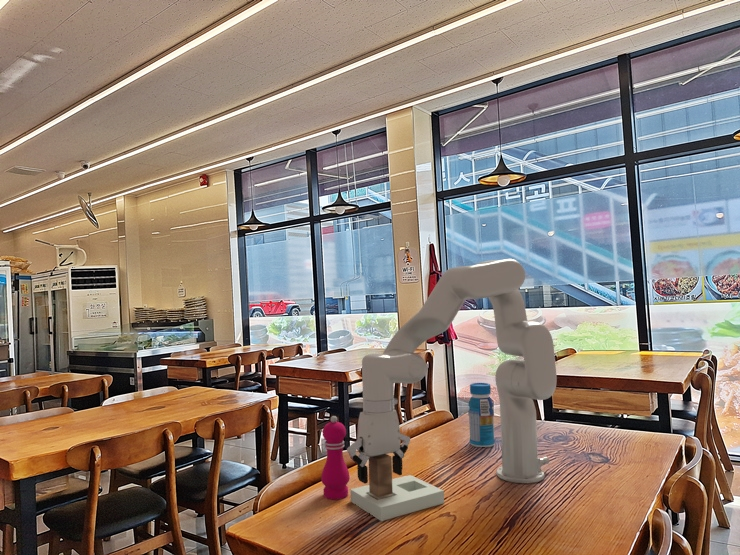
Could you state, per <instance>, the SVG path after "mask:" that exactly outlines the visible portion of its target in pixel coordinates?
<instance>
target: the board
mask: <svg viewBox="0 0 740 555" xmlns="http://www.w3.org/2000/svg"><path fill="white" fill-rule="evenodd" d="M349 490H350V502H351V503H352V504H354V505H355V504H356V505H355V506H357V507H358V506H359V508H360V509H362V510H363V511H365V512H366V513H368V514H369V513H370V515H371V516H372V515H373V516H372V517H375V519H377V520H379V521H380V522H383V521H387V520H390V519H393V518H397V517H400V516H403V515H407V514H411V513H414V512H415V513H416V512H418V511H422V510H425V509H428V508H432V507H435V506H439V505H442V504H445V490H444V489H442V488H439V487H438V486H437V487H436V486H434V485H432V484H431V483H428V482H427V481H425V480H422V479H420V478H418V477H417V476H416V477H415V476H413V475H411V474H409V475H404V476H403V475H402V476H400V477H395V478H392V492H393V496H391V497H387V498H383V499H379V500H376V499H375V498H373V497H371V496H370V494H369V484H368V485H363V486H362V485H361V486H358V487H354V488H350V489H349Z"/></svg>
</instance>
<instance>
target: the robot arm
mask: <svg viewBox="0 0 740 555" xmlns="http://www.w3.org/2000/svg"><path fill="white" fill-rule="evenodd" d="M525 280H526V271H525V267H524V266H523V265H522V264H521V263H520V261H517V260H516V259H512V258H506V259H505V258H504V259H497V260H495V259H494V260H486V261H485V260H484V261H482V262H481V261H480V262H477V263H476V264H474V265H465V266H455V267H451V268H449V269H447V270H445V272H443V274H442V275H441V276H440V278H439V279H438V281H437V283H436V284H435V286H434V288H432V291H431V293H430V294H429V296H428V298H427V299H426V300H425V302H424V304H423V305H422V307H421V308H420V310H419V311H418V312H417V313H416V314H414V315H413V316H412V317H411V318H410V319H409V320H408V321H407V322H406V323H405V324H404V325H402V326H401V327H400V328H399V329H398V330H397V331H396V332H395V333H394V335H392V336H393V337H391V339H390V341H389V342H388V344H387V346H386V347H385V349H384V350H383V352H382V353H371V354H366V355H364V356H363V357H362V360H361V373H362V374H361V377H362V378H361V379H362V411H360V412H359V416H358V424H357V429H356V430H357V431H356V434H357V435H356V441H354V442H353V443H351V444H350V445H349V446H348V447H347V448H346V451H347V453H348V455H349V457H350V459H351V461H353V462H354V463H355V464H356V465H357V479H358V481H360V482H361V483H363V484H368V483H369V469H368V466H367V465H366V464H367V462H369V458H370V457H374V456H379V455H383V454H387V455H389V454H392V453H393V455H392V456H391V458H392V474H393V473H394V474H396V475H398V476H403V459H404V458H405V454H406V452H407V451H408V449H409V444H410V442H411V437H410V436H408V435H406V434H403V433H401V427H400V422H399V416H398V413H397V410H396V409H395V405H397V404H398V402H399V400H398V398H395V392H394V390H395V388H394V387H395V386H394V384H415V383H418V382H420V381H421V380H422V379H424V377H425V376H426V374H427V371H428V365H427V362H426V360H425V359H424V358H423V356H421V355H420V354H418V353H415V352H416V351H417V349H418V348H419V347H420V346H421V345H422V344H423V343H425V342H426V341H428V340H429V339H432V338H434V337H436V336H439V335H441V334H442V333H444V332H445V331H447V330H448V329H449V328H450V326H451V324H452V323H453V321H454V320H455V318H456V316H457V314H458V312H459V311H460V309H461V308H462V306H463V305H464V303H465V302H466V300H480V299H487V298H488V300H489V301H490V303H491V305H492V306H491V307H492V309H493V315H494V325H495V334H496V342H497V346H498V350H499V351H501V353H503V354H505V355H509V356H514V357H520V358H521V357H522V358H523V359H507V360H505V361H502V362H501V363H500V364H499V365H497V368H496V370H495V377H494V378H495V385H496V389H497V394H498V400H499V414H500V440H501V466H499V467H498V468H497V469H496V476H497V477H498V478H499V479H501V480H504V481H506V482H510V483H517V484H533V483H538V482H542V481H543V480H544V479H545V472H544V471H543V469H541V467H543V466H544V465H548V464H550V459H549V457H547V456H544V457H539V456H538V455H539V454H538V453H539V452H538V434H537V431H538V430H537V427H538V426H537V410H536V406H535V402H534V400H536V401H537V400H538V401H544V400H548V399H549V398H551V397H552V396H553V394H554V393H555V391H556V389H557V388H556V387H557V381H558V380H557V379H558V377H557V376H558V375H557V367H556V358H555V347H554V340H553V336H552V334H551V332H550V330H549V328H547V326H545V325H544V324H543V323H541V322H537V321H528V318H527V312H526V305H525V301H524V298H523V295H522V294H521V292H520V290H519V289H520V288H521V287H522V286H523V284H524V283H525ZM401 440H402V442H401ZM356 451H357V453H358V455H357V453H356Z"/></svg>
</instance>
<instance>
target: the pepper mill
mask: <svg viewBox="0 0 740 555" xmlns="http://www.w3.org/2000/svg"><path fill="white" fill-rule="evenodd" d="M346 435H347V429H346V426H345V425H344V424H343V423H342V422H339V421H338V417H337V416H336V415H332V416H331V417H330V422H328V423H326V424H325V425H324V427H323V429H322V437H323V439H324V440H325V441H324V448H325V449H326V459H325V460H326V461H325V463H324V467H323V469H322V471H321V478H320V480H321V482H322V485H323V486H324V487H323V497H324V499H328V500H341V499H345V498H346V497H348V495H349V487H348V486H347V484H349V482H350V472H349V469H348V466H347V464H346V462H345V459H344V448H345V441H344V438H346Z"/></svg>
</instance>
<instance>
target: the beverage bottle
mask: <svg viewBox="0 0 740 555" xmlns="http://www.w3.org/2000/svg"><path fill="white" fill-rule="evenodd" d="M469 389H470V390H469V393H470V395H471V397H470V399H469V401H468V407H469V409H468V412H467V414H468V420H469V422H468V423H469V424H468V425H469V444H470V445H471V446H472V447H476V448H482V447H485V448H491V447H493V446H495V444H496V441H495V424H494V423H495V422H494V420H495V418H494V416H495V411H494V408H493V407H494V402H493V400H492V398H491V396H490V395H491V392H492V391H491V390H492V387H491V384H490V383H487V382H472V383H470V384H469Z"/></svg>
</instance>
